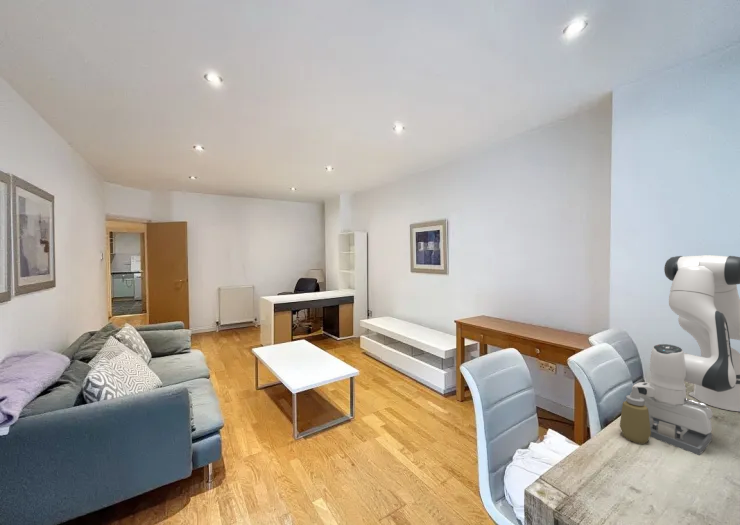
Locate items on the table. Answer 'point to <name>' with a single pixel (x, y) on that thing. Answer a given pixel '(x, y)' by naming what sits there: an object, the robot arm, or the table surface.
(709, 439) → the tray
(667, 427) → the block
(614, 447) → the table surface
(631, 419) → the squeeze bottle
